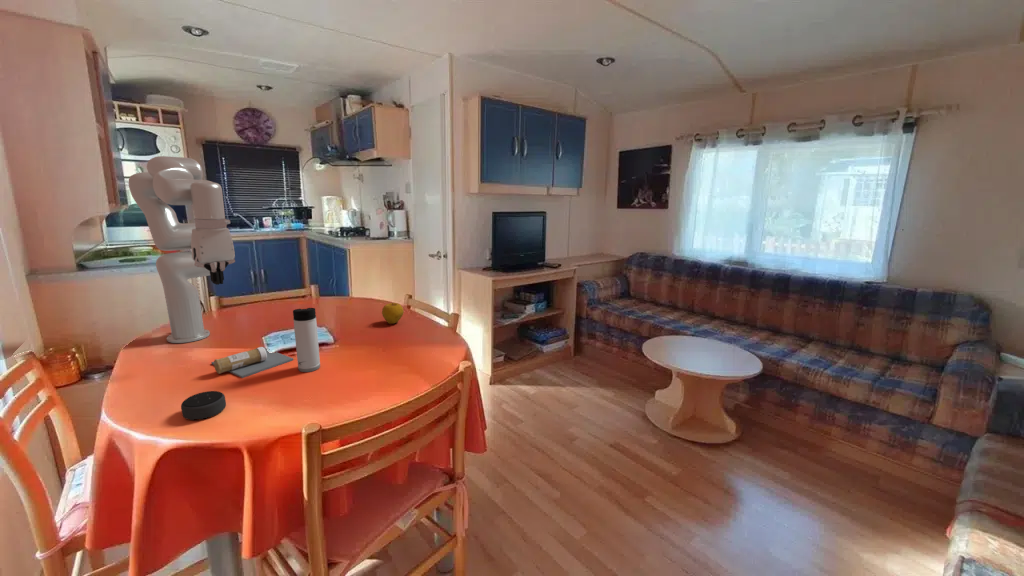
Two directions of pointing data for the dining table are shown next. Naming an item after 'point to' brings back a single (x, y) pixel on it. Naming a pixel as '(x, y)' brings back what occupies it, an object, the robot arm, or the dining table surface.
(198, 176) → the robot arm
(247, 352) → the sprinkles bottle
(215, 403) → the smart speaker
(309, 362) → the travel mug
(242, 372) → the rubber mat
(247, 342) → the dining table surface
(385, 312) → the apple
